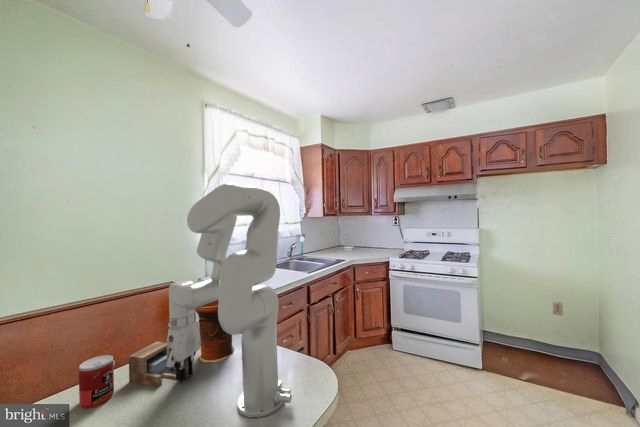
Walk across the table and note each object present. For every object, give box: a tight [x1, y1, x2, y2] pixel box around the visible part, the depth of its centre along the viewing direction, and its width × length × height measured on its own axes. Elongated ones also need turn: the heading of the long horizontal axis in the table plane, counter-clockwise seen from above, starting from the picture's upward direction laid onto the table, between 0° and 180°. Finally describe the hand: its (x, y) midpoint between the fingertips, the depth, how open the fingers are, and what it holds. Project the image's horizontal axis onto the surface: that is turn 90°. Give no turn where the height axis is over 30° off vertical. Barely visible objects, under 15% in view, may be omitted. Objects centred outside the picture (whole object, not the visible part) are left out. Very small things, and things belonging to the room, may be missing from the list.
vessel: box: [195, 300, 236, 363], centre depth 102 cm, size 14×14×20 cm
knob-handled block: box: [147, 354, 190, 382], centre depth 87 cm, size 16×6×6 cm, turn 74°
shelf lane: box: [128, 341, 179, 388], centre depth 88 cm, size 12×10×8 cm
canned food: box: [78, 354, 115, 409], centre depth 77 cm, size 8×8×11 cm
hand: (184, 377), depth 85 cm, fingers closed on knob-handled block, 2 cm apart
